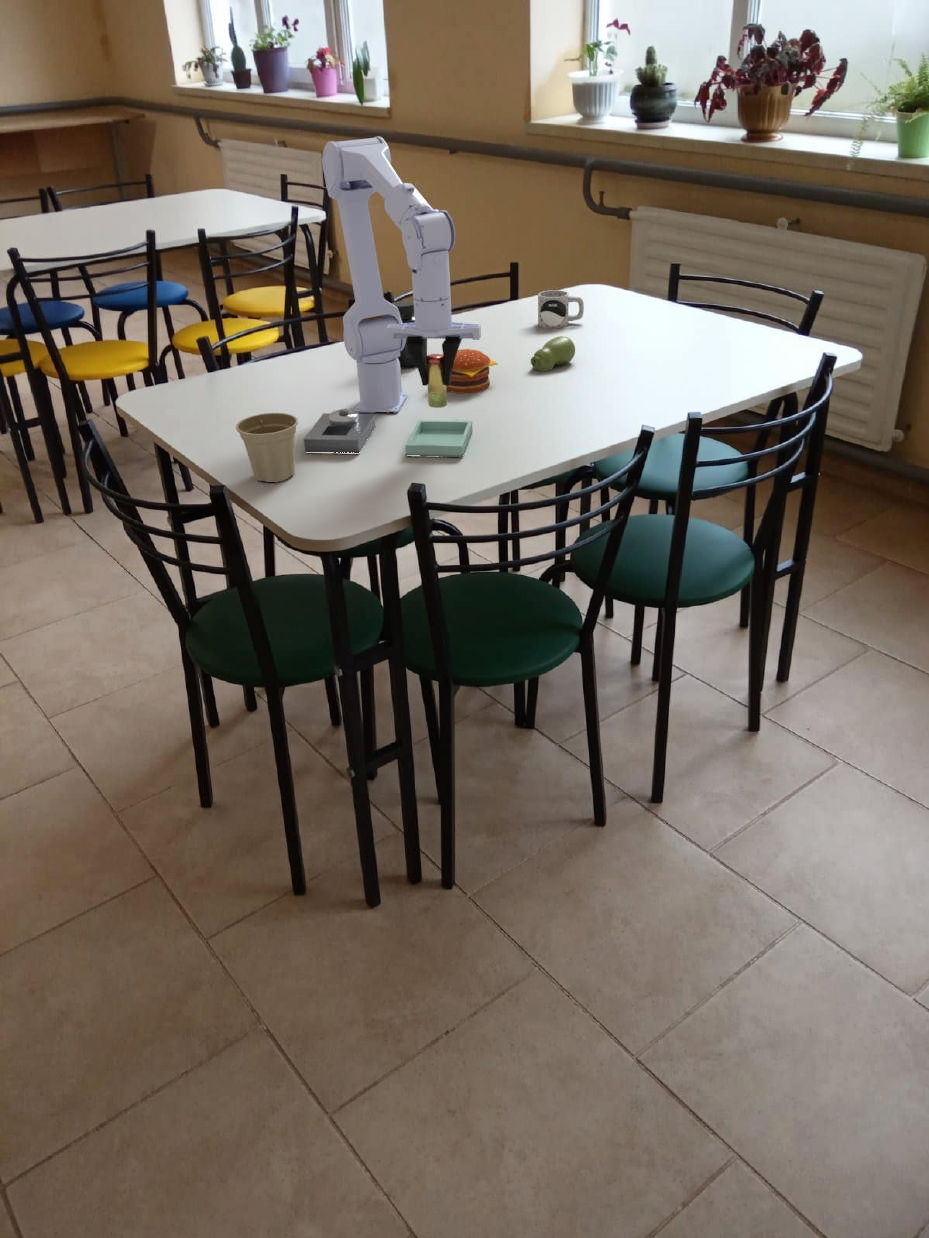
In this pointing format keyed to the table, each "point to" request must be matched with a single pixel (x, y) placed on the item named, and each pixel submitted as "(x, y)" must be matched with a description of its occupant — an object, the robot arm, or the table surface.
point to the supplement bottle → (405, 357)
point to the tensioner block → (340, 432)
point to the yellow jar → (436, 381)
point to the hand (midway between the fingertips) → (436, 383)
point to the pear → (553, 354)
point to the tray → (439, 438)
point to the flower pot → (270, 445)
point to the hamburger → (470, 371)
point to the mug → (556, 308)
